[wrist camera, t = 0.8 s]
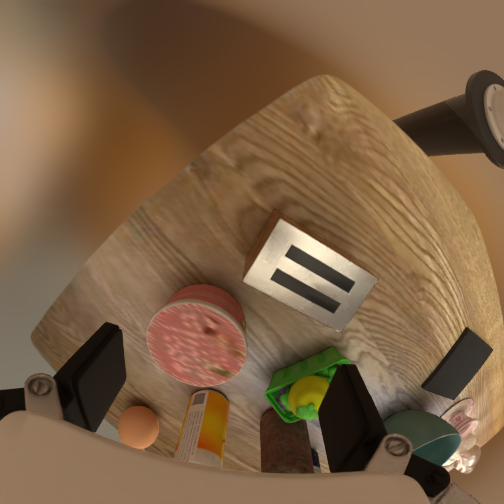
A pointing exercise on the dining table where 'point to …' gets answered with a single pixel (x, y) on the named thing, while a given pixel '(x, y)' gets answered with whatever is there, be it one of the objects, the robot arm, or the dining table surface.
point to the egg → (138, 427)
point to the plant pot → (426, 434)
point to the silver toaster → (307, 272)
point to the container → (199, 336)
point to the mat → (458, 366)
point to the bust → (463, 452)
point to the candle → (284, 445)
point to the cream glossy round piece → (473, 451)
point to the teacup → (461, 417)
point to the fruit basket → (303, 385)
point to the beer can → (204, 429)
